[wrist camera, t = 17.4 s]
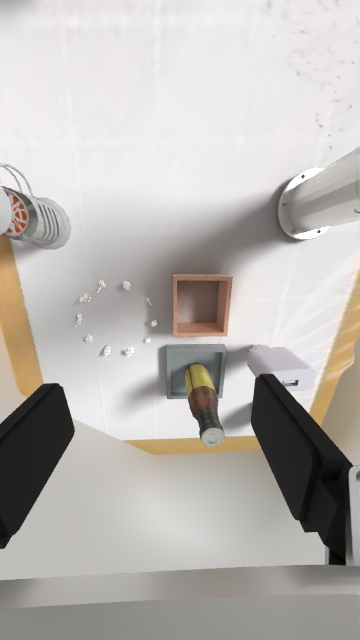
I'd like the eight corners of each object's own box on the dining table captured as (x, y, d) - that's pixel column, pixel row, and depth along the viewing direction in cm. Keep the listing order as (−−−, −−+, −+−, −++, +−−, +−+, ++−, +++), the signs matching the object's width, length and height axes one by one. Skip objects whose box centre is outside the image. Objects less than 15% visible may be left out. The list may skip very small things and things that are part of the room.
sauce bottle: (193, 385, 50) (206, 460, 31) (179, 370, 49) (183, 439, 30) (212, 371, 49) (237, 440, 30) (198, 355, 48) (215, 418, 29)
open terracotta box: (223, 274, 42) (232, 276, 36) (219, 325, 46) (226, 336, 40) (173, 273, 42) (173, 276, 35) (173, 325, 46) (173, 336, 39)
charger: (272, 352, 49) (313, 389, 35) (238, 355, 49) (264, 393, 35) (273, 336, 48) (317, 367, 33) (238, 338, 48) (266, 372, 33)
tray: (224, 344, 48) (226, 348, 46) (219, 391, 52) (222, 398, 50) (166, 344, 47) (166, 349, 45) (167, 392, 52) (167, 399, 50)
